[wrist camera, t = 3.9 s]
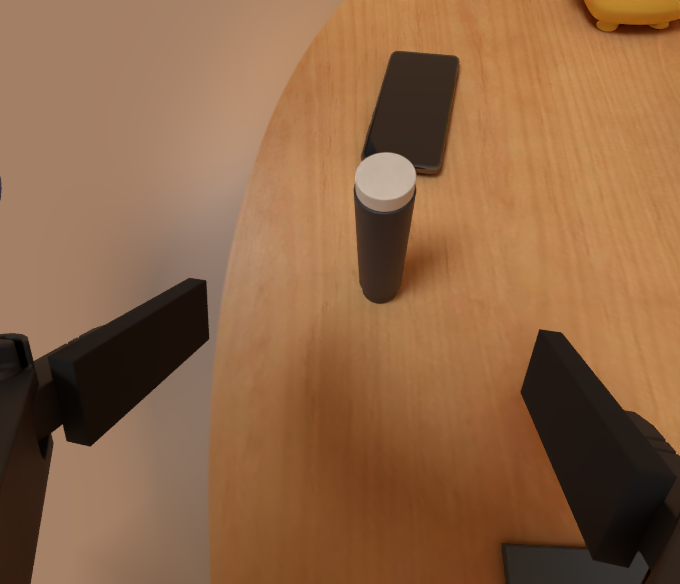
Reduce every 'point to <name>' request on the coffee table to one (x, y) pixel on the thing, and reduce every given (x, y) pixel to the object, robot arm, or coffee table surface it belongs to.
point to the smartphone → (414, 109)
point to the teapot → (633, 12)
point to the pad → (565, 566)
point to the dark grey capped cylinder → (383, 222)
